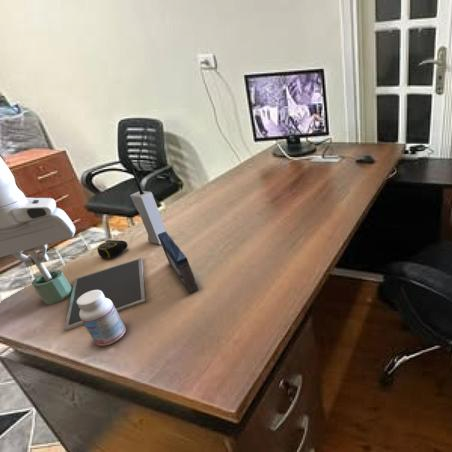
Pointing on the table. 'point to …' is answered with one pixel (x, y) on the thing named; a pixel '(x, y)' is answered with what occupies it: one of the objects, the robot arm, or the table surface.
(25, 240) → the robot arm
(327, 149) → the table surface
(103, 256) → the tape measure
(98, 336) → the pill bottle
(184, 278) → the vhs cassette tape
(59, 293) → the pen cup
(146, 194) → the vintage mobile phone
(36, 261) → the stylus
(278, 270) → the table surface
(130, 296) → the tablet
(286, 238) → the table surface
